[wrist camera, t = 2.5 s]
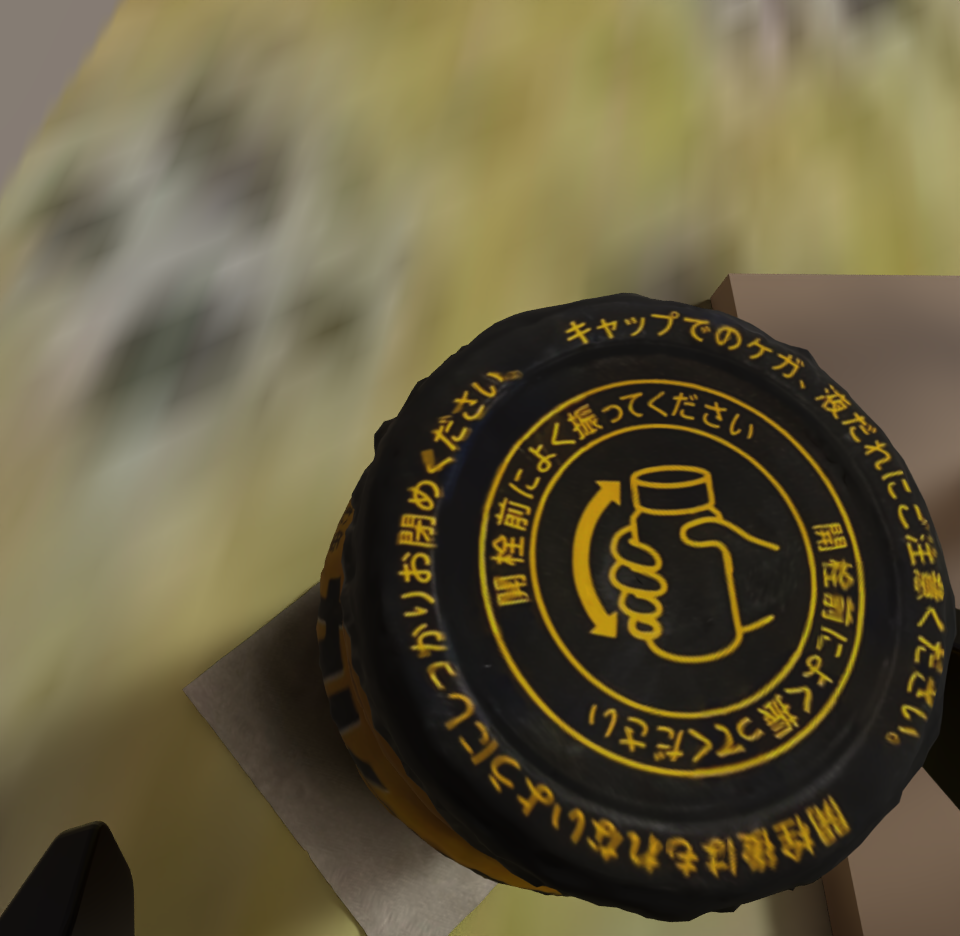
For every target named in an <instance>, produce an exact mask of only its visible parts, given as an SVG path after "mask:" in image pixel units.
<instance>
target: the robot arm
mask: <svg viewBox="0 0 960 936" xmlns="http://www.w3.org/2000/svg"><path fill="white" fill-rule="evenodd" d="M956 631H957V634H956V637H955V640H954V642H953V646H952V650H951V654H950V658H949V663H948V669H947V675H946V682H945V689H944V699H943V713H942V721H941V727H940V733H939V736H938V738H937V739H936V741H935V742H934V744H933V745H932V747H931V749H930V750H929V752H928V754H927V757H926V759H925V762H924V764H923V766H922V767H923V769H924V770H925V771H926V772H927V773H928V775H929V776H930V777H931V778H932V779H933V780H934V782H935V783H936V784H937V785H938V786H939V787H940V789H941V790H942V791H943V792H944V793H945V794H946V795H947V797H948V798H949V799H950V800H951V801H952V802H953V804H954V805H955V806H956V807H957V808H958V809H959V811H960V609H957V608H956ZM0 936H135V932H134V887H133V880H132V875H131V872H130V869H129V866H128V864H127V862H126V860H125V858H124V857H123V855H122V853H121V851H120V849H119V847H118V845H117V843H116V841H115V839H114V837H113V835H112V833H111V831H110V829H109V827H108V826H107V825H106V824H105V823H104V822H102V821H95V822H91V823H88V824H85V825H82V826H78V827H75V828H72V829H69V830H66V831H63V832H62V833H60V834H59V835H58V836H57V837H56V838H55V839H54V841H53V842H52V843H51V845H50V846H49V848H48V849H47V851H46V852H45V853H44V855H43V856H42V858H41V859H40V861H39V862H38V864H37V865H36V866H35V868H34V869H33V871H32V872H31V874H30V875H29V876H28V878H27V879H26V881H25V882H24V884H23V885H22V887H21V888H20V889H19V891H18V892H17V894H16V895H15V897H14V898H13V900H12V901H11V902H10V904H9V905H8V907H7V908H6V910H5V911H4V912H3V914H2V915H1V917H0Z"/></svg>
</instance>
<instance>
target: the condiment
mask: <svg viewBox="0 0 960 936" xmlns="http://www.w3.org/2000/svg"><path fill="white" fill-rule="evenodd" d="M374 449H375V457H374V460H373V462H372V463H371V464H370V465H369V466H368V467H367V468H366V469H365V471H364V473H363V474H362V476H361V478H360V480H359V482H358V484H357V486H356V487H355V489H354V491H353V493H352V498H351V499H350V501H349V503H348V505H347V507H346V510H345V512H344V514H343V516H342V518H341V520H340V522H339V524H338V526H337V529H336V532H335V534H334V537H333V539H332V542H331V545H330V548H329V551H328V553H327V557H326V560H325V565H324V568H323V570H322V572H321V579H320V582H319V583H318V584H316V585H315V586H314V587H312V588H311V589H310V590H309V591H308V592H307V593H306V594H304V595H303V596H302V597H300V598H299V599H298V600H297V601H296V602H294V603H293V604H292V605H290V606H289V607H288V608H286V609H285V610H283V611H282V612H281V613H280V614H279V615H277V616H276V617H275V618H274V619H273V620H271V621H270V622H269V623H268V624H266V625H265V626H263V627H262V628H261V629H259V630H258V631H257V632H256V633H255V634H253V635H252V636H251V637H250V638H248V639H247V640H246V641H244V642H243V643H241V644H240V645H239V646H237V647H236V648H235V649H234V650H232V651H231V652H230V653H228V654H227V655H225V656H224V657H223V658H221V659H220V660H219V661H217V662H216V663H215V664H214V665H213V666H211V667H210V668H209V669H208V670H206V671H205V672H204V673H203V674H201V675H200V676H199V677H197V678H196V679H195V680H194V681H192V682H191V683H190V684H189V685H187V686H186V687H185V688H183V689H182V690H183V691H184V692H185V694H186V695H187V696H188V698H189V699H190V700H191V702H192V703H193V704H194V705H195V707H196V708H197V710H198V711H199V712H200V714H201V715H202V716H203V717H204V718H205V719H206V721H207V722H208V723H209V725H210V726H211V727H212V728H213V730H214V731H215V732H216V734H217V735H218V736H219V738H220V739H221V740H222V742H223V743H224V744H225V746H226V747H227V748H228V750H229V751H230V752H231V754H232V755H233V756H234V758H235V759H236V760H237V761H238V763H239V764H240V766H241V767H242V768H243V770H244V771H245V772H246V773H247V775H248V776H249V777H250V779H251V780H252V781H253V783H254V784H255V786H256V787H257V788H258V790H259V791H260V792H261V793H262V794H263V796H264V797H265V798H266V800H267V801H268V802H269V803H270V805H271V806H272V807H273V809H274V810H275V812H276V813H277V814H278V816H279V817H280V818H281V820H282V821H283V823H284V824H285V825H286V827H287V828H288V829H289V831H290V832H291V833H292V835H293V836H294V837H295V839H296V840H297V841H298V843H299V844H300V845H301V846H302V848H303V849H304V850H307V852H308V853H309V856H310V858H311V860H312V861H313V862H314V864H315V865H316V867H317V868H318V869H319V871H320V872H321V874H322V875H323V876H324V878H325V879H326V880H327V882H328V883H329V884H330V885H331V886H332V888H333V890H334V891H335V893H336V894H337V895H338V897H339V898H340V899H341V901H342V902H343V903H344V904H345V906H346V907H347V908H348V910H349V911H350V912H351V913H352V915H353V916H354V917H355V919H356V920H357V921H358V923H359V924H360V925H361V927H362V928H363V929H364V930H365V932H366V934H367V935H368V936H448V934H449V933H450V932H451V931H452V930H453V929H454V928H455V927H456V926H457V925H458V924H459V923H460V922H461V921H462V920H463V919H464V918H465V917H466V916H467V915H468V914H469V913H470V912H471V911H473V910H474V909H475V908H476V907H477V906H478V905H479V904H480V902H481V901H482V900H483V899H484V898H485V897H486V896H487V895H488V893H489V892H490V891H491V890H492V889H493V888H494V887H495V886H496V885H497V884H498V883H501V884H506V885H510V886H515V887H519V888H522V889H528V890H532V891H535V892H539V893H541V894H544V895H555V896H565V897H568V896H572V897H576V898H579V899H582V900H585V901H588V902H591V903H593V904H596V905H598V906H606V907H617V908H620V909H622V910H625V911H628V912H632V913H636V914H639V915H641V916H643V917H645V918H650V919H655V920H660V921H667V922H682V921H690V920H692V919H695V918H697V917H699V916H701V915H703V914H705V913H708V912H719V913H723V912H734V911H735V910H736V909H737V908H738V907H739V906H740V905H741V904H745V903H749V902H752V901H755V900H758V899H761V898H764V897H767V896H770V895H773V894H776V893H779V892H782V891H785V890H788V889H789V890H792V891H793V890H794V888H795V887H797V886H804V885H807V884H810V883H813V882H815V881H816V880H818V879H819V878H820V877H822V876H823V875H825V874H826V873H828V872H829V871H831V870H832V869H833V868H834V867H836V866H837V865H838V864H839V863H841V862H842V861H843V860H844V859H845V858H847V857H848V856H849V855H850V854H851V853H852V852H853V851H854V850H856V849H857V848H858V847H859V846H860V845H861V844H862V843H863V842H864V840H865V839H866V838H867V837H868V836H869V834H870V833H871V832H872V831H873V829H874V828H875V827H876V826H877V825H878V824H879V823H880V822H881V820H882V819H883V818H884V817H885V816H886V815H887V814H888V813H889V812H890V811H891V810H892V809H894V808H895V807H896V806H897V805H898V804H899V803H900V799H901V796H902V792H903V790H904V789H905V788H906V786H907V785H908V783H909V782H910V781H911V779H912V778H913V777H914V776H915V774H916V773H917V772H918V771H919V770H920V768H921V767H922V766H923V764H924V762H925V759H926V757H927V754H928V752H929V750H930V749H931V747H932V745H933V744H934V742H935V741H936V739H937V738H938V736H939V733H940V727H941V721H942V713H943V699H944V689H945V682H946V675H947V669H948V663H949V658H950V654H951V650H952V646H953V642H954V640H955V637H956V634H957V631H956V608H955V596H954V593H953V590H952V587H951V584H950V580H949V575H948V571H947V567H946V563H945V559H944V554H943V550H942V546H941V543H940V541H939V538H938V535H937V532H936V529H935V526H934V523H933V521H932V518H931V516H930V513H929V510H928V508H927V505H926V502H925V500H924V498H923V496H922V494H921V492H920V490H919V488H918V486H917V484H916V482H915V480H914V478H913V476H912V474H911V473H910V471H909V469H908V467H907V465H906V463H905V461H904V459H903V458H902V456H901V455H900V454H899V453H898V451H897V450H896V449H895V448H894V446H893V445H892V443H891V442H890V440H889V439H888V437H887V436H886V434H885V433H884V432H883V430H882V429H881V428H880V427H879V426H878V425H877V424H876V423H875V422H874V421H873V420H872V419H871V418H870V417H869V416H868V415H867V414H866V413H865V412H864V411H863V410H862V409H861V407H860V406H859V405H858V404H857V403H856V402H855V401H854V400H853V399H852V398H851V397H850V395H849V393H848V392H847V391H846V390H845V389H844V388H842V387H841V386H840V385H839V384H838V383H837V382H835V381H834V380H833V379H832V378H831V377H830V376H829V375H828V374H827V373H826V372H825V371H824V370H822V369H821V368H820V367H819V366H818V364H817V362H816V361H815V359H814V357H813V356H812V355H811V353H810V352H809V351H808V350H807V349H803V348H800V347H795V346H791V345H788V344H785V343H782V342H779V341H777V340H775V339H773V338H772V337H771V336H769V335H768V334H767V333H765V332H764V331H762V330H761V329H759V328H757V327H756V326H754V325H753V324H751V323H749V322H746V321H744V320H742V319H739V318H737V317H735V316H732V315H729V314H727V313H724V312H721V311H718V310H711V309H703V308H699V307H696V306H692V305H688V304H684V303H680V302H674V301H662V300H656V299H650V298H647V297H644V296H641V295H638V294H634V293H620V294H614V295H609V296H603V297H598V298H592V299H585V300H580V301H576V302H572V303H568V304H563V305H557V306H552V307H546V308H541V309H536V310H530V311H526V312H522V313H519V314H516V315H513V316H510V317H508V318H506V319H504V320H501V321H499V322H497V323H495V324H493V325H492V326H491V327H489V328H488V329H486V330H485V331H483V332H482V333H481V334H479V335H478V336H477V337H476V338H475V339H474V340H473V341H472V342H470V343H469V344H468V345H465V346H462V347H461V348H460V349H459V350H458V351H457V353H455V354H453V355H451V356H450V357H449V358H448V359H447V360H446V361H444V362H443V364H442V365H441V366H439V367H438V368H437V369H436V370H435V371H434V372H433V373H432V374H431V375H430V376H429V377H427V378H424V379H422V380H420V381H418V382H417V384H416V385H415V387H414V388H413V390H412V391H411V393H410V395H409V397H408V399H407V400H406V402H405V404H404V406H403V407H402V409H401V411H400V412H399V414H398V416H397V417H395V418H393V419H391V420H388V421H384V422H383V424H382V425H381V427H380V428H379V429H378V431H377V432H376V433H375V434H374Z"/></svg>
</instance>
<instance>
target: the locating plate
mask: <svg viewBox="0 0 960 936" xmlns="http://www.w3.org/2000/svg"><path fill="white" fill-rule="evenodd" d="M710 299H711V304H712V309H713V310H718V311H721V312H724V313H727V314H729V315H732V316H735V317H737V318H739V319H742V320H744V321H746V322H749V323H751V324H753V325H754V326H756V327H757V328H759V329H761V330H762V331H764V332H765V333H767V334H768V335H769V336H771V337H772V338H773V339H775V340H777V341H779V342H782V343H785V344H788V345H791V346H795V347H800V348H803V349H807V350H808V351H809V352H810V353H811V355H812V356H813V357H814V359H815V361H816V362H817V364H818V366H819V367H820V368H821V369H822V370H824V371H825V372H826V373H827V374H828V375H829V376H830V377H831V378H832V379H833V380H834V381H835V382H837V383H838V384H839V385H840V386H841V387H842V388H844V389H845V390H846V391H847V392H848V393H849V395H850V397H851V398H852V399H853V400H854V401H855V402H856V403H857V404H858V405H859V406H860V407H861V409H862V410H863V411H864V412H865V413H866V414H867V415H868V416H869V417H870V418H871V419H872V420H873V421H874V422H875V423H876V424H877V425H878V426H879V427H880V428H881V429H882V430H883V432H884V433H885V434H886V436H887V437H888V439H889V440H890V442H891V443H892V445H893V446H894V448H895V449H896V450H897V451H898V453H899V454H900V455H901V456H902V458H903V459H904V461H905V463H906V465H907V467H908V469H909V471H910V473H911V474H912V476H913V478H914V480H915V482H916V484H917V486H918V488H919V490H920V492H921V494H922V496H923V498H924V500H925V502H926V505H927V508H928V510H929V513H930V516H931V518H932V521H933V523H934V526H935V529H936V532H937V535H938V538H939V541H940V543H941V546H942V550H943V554H944V559H945V563H946V567H947V571H948V575H949V580H950V584H951V587H952V590H953V593H954V596H955V608H957V609H960V276H922V275H817V274H728V276H727V277H726V278H725V279H724V281H723V282H722V283H721V285H720V286H719V287H718V289H717V290H716V291H715V292H714V294H713V295H712V296H711V298H710ZM822 881H823V886H824V891H825V896H826V902H827V907H828V912H829V917H830V922H831V928H832V933H833V936H960V811H959V809H958V808H957V807H956V806H955V805H954V804H953V802H952V801H951V800H950V799H949V798H948V797H947V795H946V794H945V793H944V792H943V791H942V790H941V789H940V787H939V786H938V785H937V784H936V783H935V782H934V780H933V779H932V778H931V777H930V776H929V775H928V773H927V772H926V771H925V770H924V769H923V767H921V768H920V770H919V771H918V772H917V773H916V774H915V776H914V777H913V778H912V779H911V781H910V782H909V783H908V785H907V786H906V788H905V789H904V790H903V792H902V796H901V799H900V803H899V804H898V805H897V806H896V807H895V808H894V809H892V810H891V811H890V812H889V813H888V814H887V815H886V816H885V817H884V818H883V819H882V820H881V822H880V823H879V824H878V825H877V826H876V827H875V828H874V829H873V831H872V832H871V833H870V834H869V836H868V837H867V838H866V839H865V840H864V842H863V843H862V844H861V845H860V846H859V847H858V848H857V849H856V850H854V851H853V852H852V853H851V854H850V855H849V856H848V857H847V858H845V859H844V860H843V861H842V862H841V863H839V864H838V865H837V866H836V867H834V868H833V869H832V870H831V871H829V872H828V873H826V874H825V875H823V876H822Z"/></svg>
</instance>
